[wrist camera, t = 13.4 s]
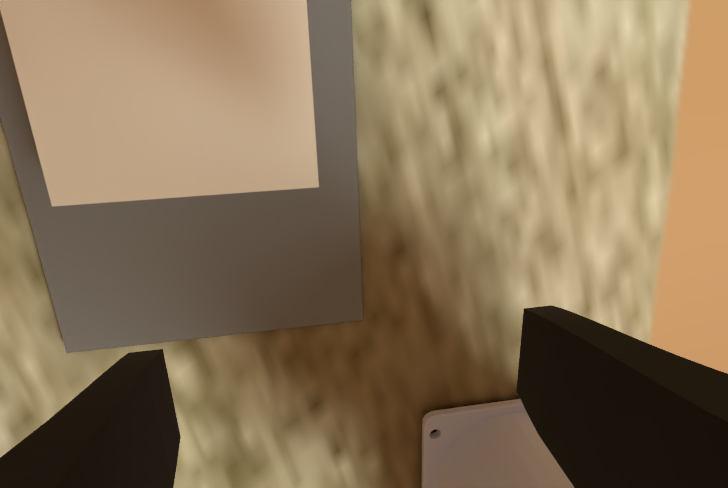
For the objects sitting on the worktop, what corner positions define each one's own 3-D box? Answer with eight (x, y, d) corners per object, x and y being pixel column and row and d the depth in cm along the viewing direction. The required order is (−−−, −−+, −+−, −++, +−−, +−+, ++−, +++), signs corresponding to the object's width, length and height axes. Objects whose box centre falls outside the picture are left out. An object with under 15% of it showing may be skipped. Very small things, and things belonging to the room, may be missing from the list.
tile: (319, 187, 16) (299, -107, 13) (51, 206, 15) (-32, -110, 12) (315, 176, 18) (297, -91, 15) (72, 192, 17) (1, -92, 14)
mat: (361, 315, 20) (363, 320, 20) (70, 347, 19) (66, 353, 19) (342, -171, 15) (344, -177, 14) (-77, -182, 13) (-86, -189, 13)
